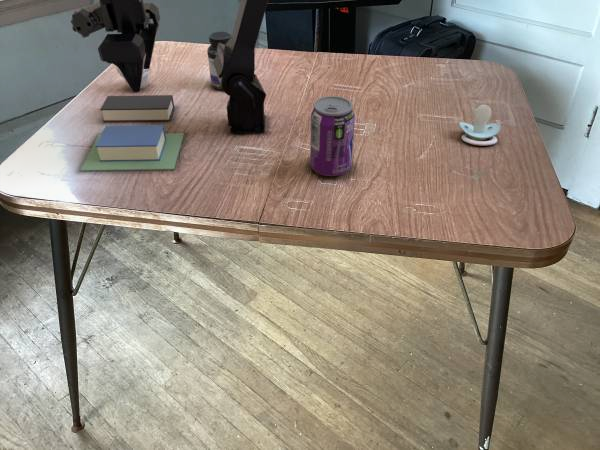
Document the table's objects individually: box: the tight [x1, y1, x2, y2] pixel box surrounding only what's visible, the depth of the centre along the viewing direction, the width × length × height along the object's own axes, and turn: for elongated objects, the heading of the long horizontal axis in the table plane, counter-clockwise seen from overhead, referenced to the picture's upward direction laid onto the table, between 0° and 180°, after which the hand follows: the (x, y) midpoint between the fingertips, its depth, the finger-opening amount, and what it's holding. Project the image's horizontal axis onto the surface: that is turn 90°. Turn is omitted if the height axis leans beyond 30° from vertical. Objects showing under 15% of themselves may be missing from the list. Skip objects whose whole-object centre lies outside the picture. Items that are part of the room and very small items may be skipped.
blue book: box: [96, 124, 167, 162], centre depth 97 cm, size 10×7×3 cm, turn 91°
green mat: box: [80, 132, 185, 172], centre depth 98 cm, size 16×12×1 cm
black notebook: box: [99, 94, 175, 123], centre depth 108 cm, size 13×6×3 cm, turn 91°
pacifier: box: [459, 104, 501, 146], centre depth 99 cm, size 7×6×6 cm
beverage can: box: [309, 95, 356, 177], centre depth 90 cm, size 7×7×12 cm
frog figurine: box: [114, 65, 151, 90], centre depth 116 cm, size 6×7×7 cm
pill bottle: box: [206, 30, 232, 91], centre depth 115 cm, size 6×6×11 cm
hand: (141, 79), depth 94 cm, fingers open, 9 cm apart
